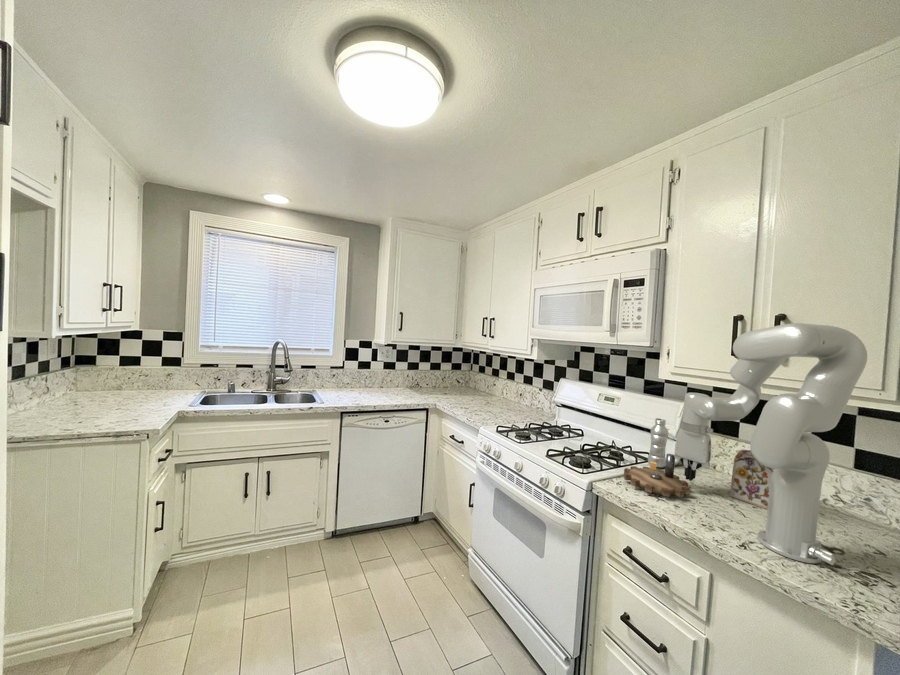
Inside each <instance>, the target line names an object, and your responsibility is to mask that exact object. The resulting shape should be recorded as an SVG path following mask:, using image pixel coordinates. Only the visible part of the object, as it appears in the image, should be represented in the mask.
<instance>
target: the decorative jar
mask: <svg viewBox="0 0 900 675" xmlns="http://www.w3.org/2000/svg"><path fill="white" fill-rule="evenodd" d="M773 470H774V468H769V467H766V466H764V465H762V464H760V463H759V462H758V461H757V460H756V459H755V458H754V457H753V455H752V452H751V449H750V450H749V449H741V450H739V451H738V452H737V454H736V455H735V456H734V458H733V465H732V473H731V481H730V482H731V483H730V492H729V493H730V494H729V496H730V498H734V499H736V500H739V501H742V502H745V503H748V504H750V505H753V506H757V507H758V508H762V509H764V510H767V511H768V502H769V492H770V484H771V477H772V473H773Z"/></svg>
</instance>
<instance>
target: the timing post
mask: <svg viewBox="0 0 900 675" xmlns="http://www.w3.org/2000/svg"><path fill="white" fill-rule="evenodd" d="M656 466H657V463H656V462H651V461H650V464H649V468H650V469H652V470H657V467H656Z"/></svg>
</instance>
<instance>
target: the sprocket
mask: <svg viewBox="0 0 900 675" xmlns="http://www.w3.org/2000/svg"><path fill="white" fill-rule="evenodd" d="M665 457H666V464H665V466H664V470H662V469H656V470H652V469H650V466H649V467H648V466H642V467H637V466H635V465H633V466H632V465H631V466H630V468H628V467H625V468H624V470H623V479H624V480H625V481H630V485H632V486H633V487H635V488H636V487H641V488H643V489H644V488H645V489H644V491H645V492H647V493H651V494H652V493H655V492H658V493H657V494H661V495H662V496H663V497H670V498H671V495H675V496H676V497H678V498H682V497H685V495H689V494H690V492H691V491H690V490H691V487H690V486H689V482H687V480H682V479H680V476H678V475H677V474H675V468H676V466H675V465H676V464H675V463H676V459H675V458H674V453H665ZM653 491H654V492H653Z"/></svg>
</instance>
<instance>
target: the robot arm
mask: <svg viewBox="0 0 900 675" xmlns="http://www.w3.org/2000/svg"><path fill="white" fill-rule="evenodd" d="M732 351H733V354H734V355H735V357H736V358H738V360H737V361H736V363H734V365H733V366H732V367H731V368H730V371H729V374H730V377H731V378H732V379H734V381H736V382H737V383H738V384H739V385H738V387H737V388H736V390H735V391H734V392H733V394H732V395H730V397H718V396H717V397H713V396H712V397H711V396H710V395H708V394H705V393H699V392H686V394H685V395H684V401H683V413H682V420H681V428H679V430H678V433H677V435H676V440H675V445H674V453H673V455H674V458H675V460H677V461H679V462H680V464H682V465H683V467H684V474H683V475H684V477H685V480H686V481H687V480H688V481H690V482H691V481H693V480H694V479H696V475H697V470H698V469H700V468H706V469H709V468H710V466H711V463H710V461H711V458H712V439H711V438H712V436H711V434H712V433H713V432H714V429H713V428H711V427H709V421H711V422H712V421H713V422H715V421H716V422H717V421H718V422H719V421H720V422H721V421H724V422H725V421H727V422H728V421H729V422H731V421H733V422H736V421H740V420H741V419H744V418H745V417H746V416H748V415H749V414H750V413H751V412H752V410H754V409H755V407H756V406H757V405H758V404H759V402H760V399H761V395H762V388H761V387H762V386H763V384H765V382H766V381H767V380H768V379H770V377H771V375H773V374H774V373H775V371H776V370H777V369H778V368H780V366H781V365H782V364H783V363H784V362H785V361H786V360H787V359H788V358H790V357H791V358H793V357H795V358H796V357H798V358H800V357H801V358H814V359H815V358H816V359H818V362H817V363H816V364H815V365H814V366H813V367H812V368H811V369H810V370H809V372H808V373H807V374H806V376H805V378H804V380H803V383H802V386H801V387H800V389H799V391H798V392H796V393H780V394H778V395H775V396H773V397H771V398H770V399H769V400H768V401H767V402H766V403H765V404H764V406H763V408H762V411H761V414H760V415H759V418H758V420H757V422H756V426H755V429H754V431H753V433H752V435H751V439H750V444H749V445H750V450H751V452H752V455H753V457H754V458H755V459H756V460H757V461H758V462H759V463H760V464H762V465H764V466H766V467H769V468H774V470H773V473H772V477H771V484H770V492H769V502H768V510H767V513H766V524H765V530H761V531H759V532H758V533H757V540H758V541H759V542H760V543H761V544H762V545H763V546H764V547H766V548H767V549H769V550H771V551H773V552H775V553H776V554H779V555H781V556H783V557H786V558H789V559H792V560H794V561H798V562H802V563H807V564H819V563H822V562H825V563H827V564H829V565H830V566H833V565H835V563H836V558H835V554H834V553H832V552H831V551H828V550H825V549H824V548H823V547H821V543H822V542H821V541H820V540H818V539H816V538H817V529H818V521H819V520H818V519H819V509H820V500H821V493H822V486H823V481H824V477H825V474H826V472H827V468H828V466H829V463H830V456H831V454H830V450H829V448H828V445H827V444H826V443H825V441H824V440H822V438H820V437H819V436H817V435H815V434H813V433H824V432H828V431H831V430H833V429H834V428H836V427H837V425H838V423H839V422H840V420H841V417H842V415H843V413H844V412H845V409H846V406H847V405H848V403H849V401H850V398H851V396H852V393H853V391H854V389H855V387H856V385H857V383H858V381H859V379H860V377H861V376H862V375H863V372H864V371H865V368H866V365H867V362H868V350H867V347H866V346H865V344H864V343H863V341H862V340H861V339H860V338H859V336H857V335H856V334H854V333H853V332H851V331H849V330H847V329H845V328H843V327H842V328H841V327H839V326H835V325H834V326H833V325H829V324H828V325H827V324H813V323H800V322H792V323H786V324H785V323H784V324H779V325H774V326H770V327H769V326H768V327H765V328H760V329H755V330H749V331H746V332H743V333H742V334H740V335H739V336H738V337H736V339H735V340H734V342H733V345H732ZM709 433H711V434H709ZM690 461H692V464H691V462H690ZM691 465H692V466H691Z"/></svg>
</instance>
